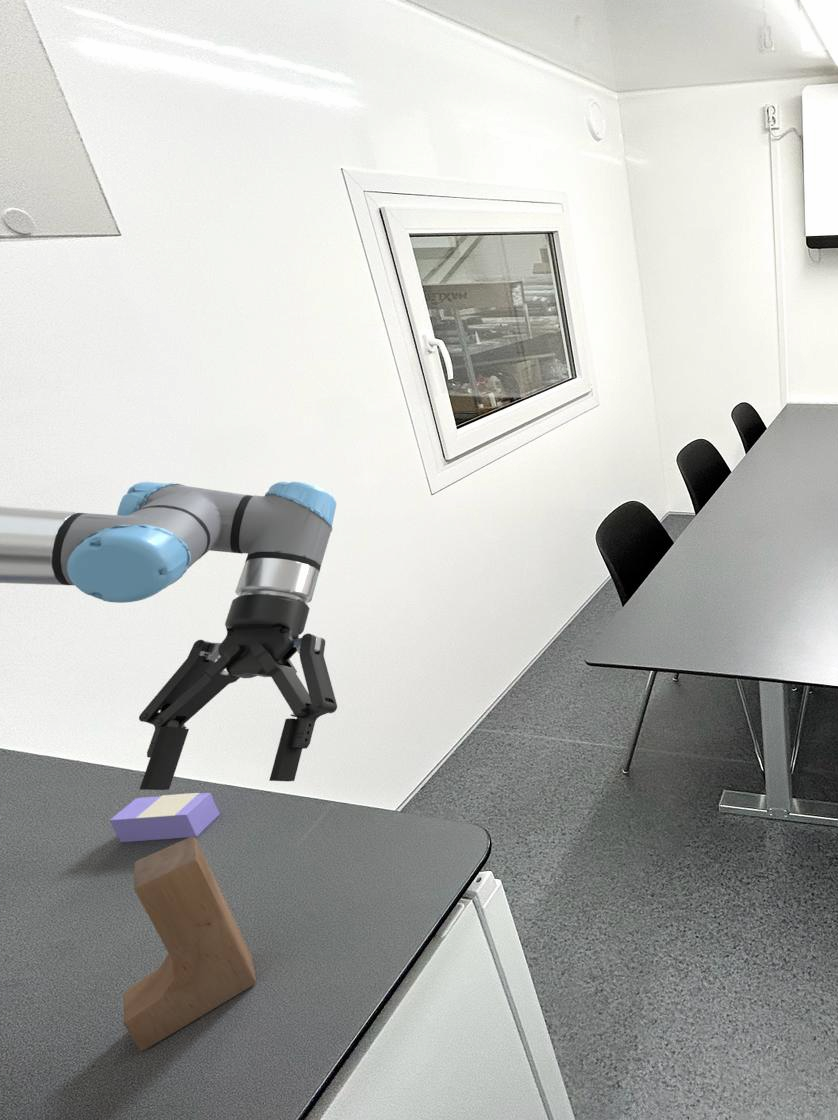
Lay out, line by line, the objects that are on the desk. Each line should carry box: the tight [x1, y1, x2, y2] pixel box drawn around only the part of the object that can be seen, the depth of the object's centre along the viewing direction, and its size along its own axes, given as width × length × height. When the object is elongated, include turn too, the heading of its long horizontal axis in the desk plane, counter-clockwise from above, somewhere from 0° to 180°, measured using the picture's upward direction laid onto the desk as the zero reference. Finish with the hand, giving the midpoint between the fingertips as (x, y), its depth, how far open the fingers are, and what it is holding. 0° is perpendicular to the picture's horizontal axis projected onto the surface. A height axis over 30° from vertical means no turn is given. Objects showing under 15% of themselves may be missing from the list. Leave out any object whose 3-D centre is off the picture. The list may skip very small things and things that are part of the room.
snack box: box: [109, 792, 221, 843], centre depth 87 cm, size 10×4×4 cm, turn 94°
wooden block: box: [123, 837, 257, 1051], centre depth 62 cm, size 9×4×18 cm, turn 136°
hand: (218, 785), depth 69 cm, fingers open, 13 cm apart
